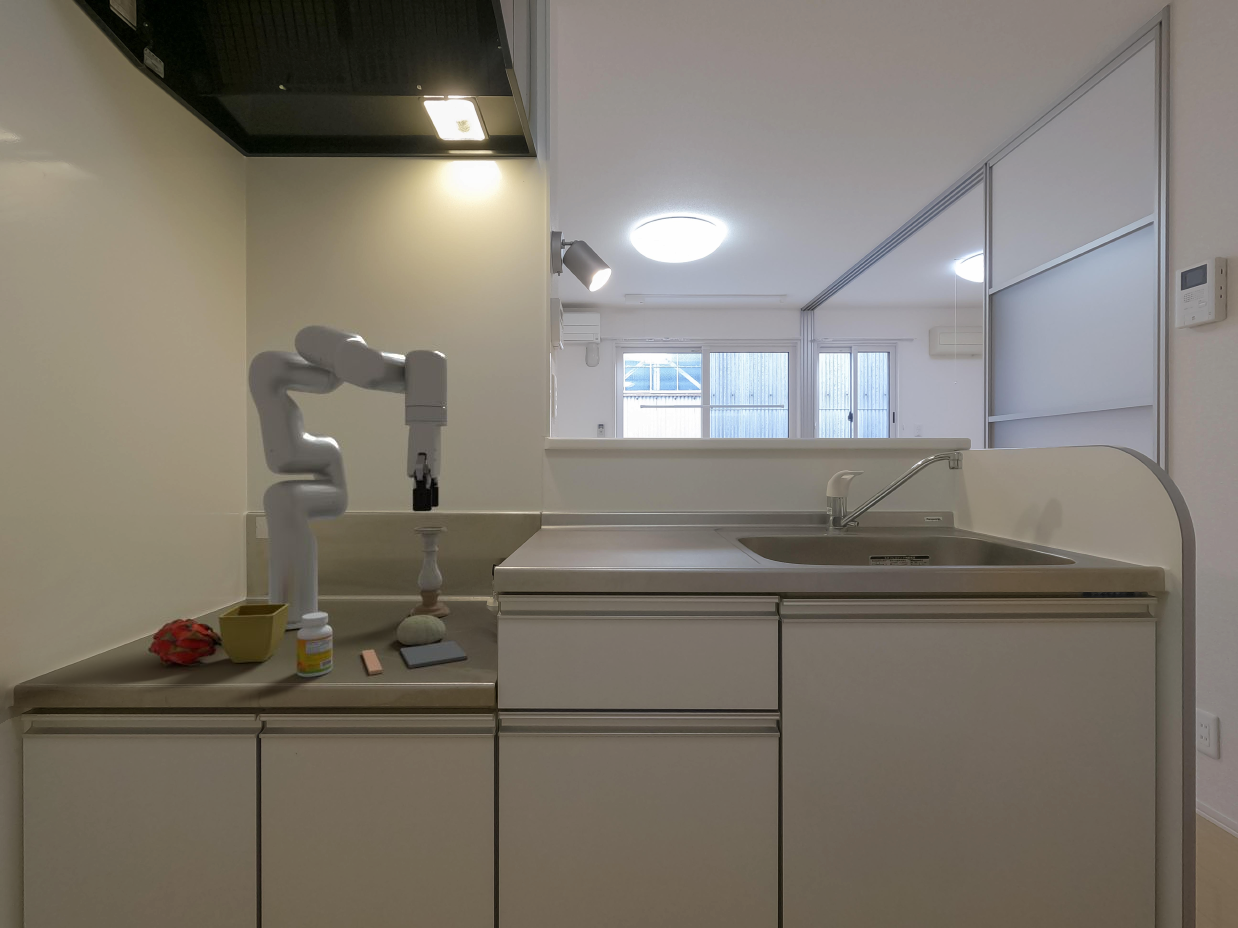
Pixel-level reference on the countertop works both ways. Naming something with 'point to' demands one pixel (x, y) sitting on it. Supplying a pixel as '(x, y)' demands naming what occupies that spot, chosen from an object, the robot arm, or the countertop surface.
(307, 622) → the supplement bottle
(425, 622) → the sea urchin shell
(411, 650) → the pad
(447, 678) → the countertop surface
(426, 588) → the candle holder
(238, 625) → the flower pot
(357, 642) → the countertop surface
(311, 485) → the robot arm
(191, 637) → the dragon fruit
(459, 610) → the countertop surface
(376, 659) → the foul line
